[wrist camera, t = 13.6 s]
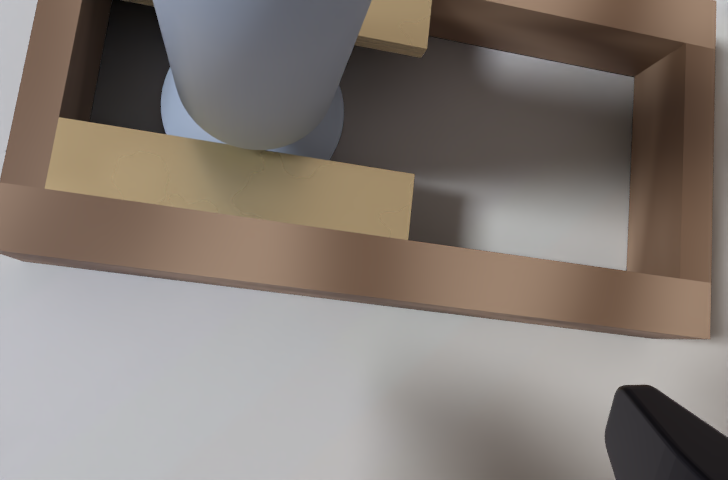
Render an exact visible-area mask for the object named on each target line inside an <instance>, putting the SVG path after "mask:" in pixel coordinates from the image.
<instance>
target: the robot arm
mask: <svg viewBox="0 0 728 480" xmlns="http://www.w3.org/2000/svg"><path fill="white" fill-rule="evenodd" d="M605 444H606V449H607V452H608V455H609V459H610V462H611V465H612V469H613V472H614V475H615V478H616V480H728V437H726V436H725V435H723V434H722V433H720V432H719V431H718V430H716V429H715V428H713V427H712V426H710V425H709V424H707V423H706V422H704V421H703V420H701V419H700V418H698V417H697V416H696V415H694V414H693V413H691V412H690V411H688V410H687V409H685V408H684V407H682V406H681V405H679V404H678V403H677V402H675V401H674V400H672V399H671V398H669V397H668V396H666V395H665V394H663V393H662V392H660V391H659V390H658V389H656V388H654V387H652V386H650V385H624V386H621V387H619V388H618V389H617V391H616V393H615V395H614V399H613V403H612V407H611V410H610V414H609V418H608V421H607V425H606V429H605Z"/></svg>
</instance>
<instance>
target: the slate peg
mask: <svg viewBox="0 0 728 480" xmlns="http://www.w3.org/2000/svg"><path fill="white" fill-rule="evenodd" d="M371 1H372V0H153V3H154V7H155V11H156V14H157V18H158V22H159V26H160V29H161V33H162V37H163V41H164V44H165V48H166V52H167V56H168V59H169V63H170V68H169V71H168V73H167V75H166V78H165V81H164V85H163V88H162V95H161V115H162V122H163V126H164V129H165V132H166V134H167V135H173V136H179V137H186V138H192V139H198V140H204V141H211V142H217V143H223V144H229V145H231V146H235V147H239V148H243V149H250V150H267V151H273V152H279V153H286V154H292V155H298V156H304V157H311V158H317V159H323V160H330V158H331V156H332V155H333V153H334V151H335V149H336V147H337V144H338V142H339V139H340V136H341V132H342V128H343V121H344V103H343V97H342V92H341V89H340V86H339V83H340V80H341V78H342V75H343V73H344V70H345V67H346V65H347V62H348V60H349V57H350V55H351V52H352V50H353V47H354V44H355V42H356V39H357V37H358V34H359V32H360V29H361V27H362V24H363V21H364V19H365V16H366V14H367V11H368V9H369V6H370V4H371Z"/></svg>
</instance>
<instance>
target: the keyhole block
mask: <svg viewBox="0 0 728 480" xmlns="http://www.w3.org/2000/svg"><path fill="white" fill-rule="evenodd" d="M122 1H128V2H133V3H138V4H143V5H148V6H154V3H153V0H122ZM111 5H112V0H38V3H37V8H36V12H35V17H34V22H33V27H32V31H31V36H30V41H29V45H28V50H27V55H26V60H25V64H24V69H23V74H22V79H21V83H20V88H19V93H18V98H17V102H16V107H15V112H14V117H13V121H12V126H11V131H10V136H9V140H8V145H7V150H6V155H5V159H4V164H3V169H2V174H1V178H0V254H3V255H6V256H9V257H12V258H15V259H18V260H21V261H25V262H33V263H41V264H49V265H57V266H66V267H74V268H82V269H90V270H98V271H106V272H114V273H123V274H131V275H139V276H147V277H155V278H163V279H171V280H180V281H188V282H196V283H204V284H212V285H220V286H229V287H237V288H245V289H253V290H261V291H269V292H277V293H286V294H294V295H302V296H310V297H318V298H326V299H335V300H343V301H351V302H359V303H367V304H375V305H383V306H392V307H400V308H408V309H416V310H424V311H432V312H440V313H449V314H457V315H465V316H473V317H481V318H489V319H498V320H506V321H514V322H522V323H530V324H538V325H546V326H555V327H563V328H571V329H579V330H587V331H595V332H603V333H612V334H620V335H628V336H636V337H644V338H654V339H710V316H711V261H712V207H713V152H714V98H715V44H716V1H714V0H372V1H371V4H370V6H369V9H368V11H367V14H366V16H365V19H364V21H363V24H362V27H361V29H360V32H359V34H358V37H357V39H356V42H355V44H354V45H356V46H362V47H367V48H372V49H377V50H382V51H387V52H393V53H398V54H403V55H408V56H413V57H419V58H421V57H422V56H423V54H424V53H425V51H426V50H427V45H428V36H432V37H437V38H442V39H447V40H452V41H457V42H462V43H467V44H472V45H477V46H482V47H487V48H492V49H497V50H502V51H507V52H513V53H518V54H523V55H528V56H533V57H538V58H543V59H548V60H553V61H558V62H563V63H568V64H573V65H578V66H583V67H588V68H593V69H598V70H603V71H608V72H613V73H618V74H623V75H628V76H633V77H634V101H633V126H632V151H631V175H630V200H629V224H628V249H627V271H623V270H616V269H609V268H601V267H594V266H587V265H580V264H573V263H566V262H559V261H552V260H545V259H538V258H531V257H524V256H517V255H510V254H503V253H495V252H488V251H481V250H474V249H467V248H460V247H453V246H446V245H439V244H432V243H425V242H418V241H411V240H408V237H409V227H410V217H411V207H412V197H413V187H414V176H415V174H411V173H404V172H398V171H392V170H386V169H379V168H373V167H367V166H361V165H354V164H348V163H342V162H336V161H329V160H323V159H317V158H311V157H304V156H298V155H292V154H286V153H279V152H273V151H267V150H250V149H243V148H239V147H235V146H231V145H229V144H223V143H217V142H211V141H204V140H198V139H192V138H186V137H179V136H173V135H167V134H161V133H154V132H148V131H142V130H136V129H129V128H123V127H117V126H111V125H104V124H98V123H92V122H89V121H90V116H91V110H92V105H93V100H94V95H95V89H96V84H97V79H98V73H99V68H100V63H101V58H102V52H103V47H104V42H105V37H106V31H107V26H108V21H109V15H110V10H111Z"/></svg>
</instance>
